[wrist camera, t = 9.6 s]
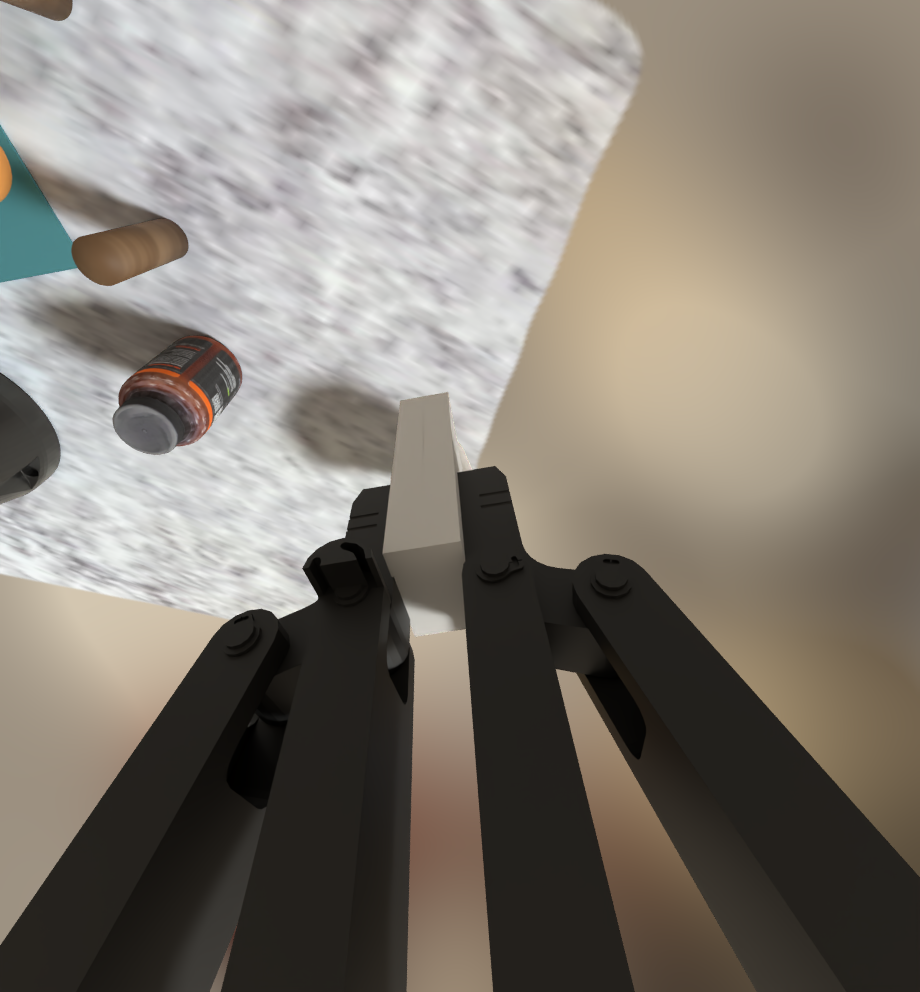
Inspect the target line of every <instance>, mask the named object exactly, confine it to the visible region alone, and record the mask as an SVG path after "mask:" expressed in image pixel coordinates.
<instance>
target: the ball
mask: <svg viewBox="0 0 920 992" xmlns="http://www.w3.org/2000/svg"><path fill="white" fill-rule="evenodd" d="M11 185H12V172H11V167H10V164H9V161H8V159H7V156H6V154H5V152H4V151H3V149H2V147H1V146H0V202H1V201H2V200H3V199H4V198H6V196H7V195H8V193H9V191H10V189H11Z"/></svg>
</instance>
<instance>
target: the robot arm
mask: <svg viewBox="0 0 920 992" xmlns="http://www.w3.org/2000/svg"><path fill="white" fill-rule="evenodd" d="M59 461H60V444H59V440H58V437H57V435H56V432H55V430H54V428H53V426H52V424H51V423H50V421H49V419H48V418H47V417H46V415H45V414H44V412H43V411H42V410H41V409H40V407H39V406H38V405H37V404H36V403H35V402H34V401H33V400H32V399H31V398H30V397H29V396H28V395H27V394H26V393H25V392H24V391H23V390H21V389H20V388H19V387H18V386H17V385H15V384H14V383H13V382H12V381H10V380H9V379H7V378H6V377H5V376H3V375H2V374H0V504H2V503H5V502H8V501H10V500H13V499H16V498H18V497H21V496H24V495H26V494H28V493H29V492H31V491H33V490H34V489H36V488H37V487H38V486H39V485H41V484H42V483H43V482H44V481H45V480H47V479H48V478H49V477H50V476H51V475H52V474H53V473H54V472H55V470H56V469H57V467H58V464H59ZM347 530H348V532H346V536H345V538H342V539H338V540H335V541H331V542H329V543H327V544H325V545H324V546H322V547H320V548H318V549H317V550H316V551H315V552H314V553H313V554H312V555H311V556H310V557H309V558H308V559H307V561H306V563H305V565H304V566H303V568H302V569H303V570H304V572H305V574H306V576H307V577H308V579H309V581H310V583H311V584H312V586H313V588H314V590H315V591H316V593H317V595H318V600H317V601H316V602H315V603H313V604H311V605H309V606H307V607H305V608H303V609H301V610H299V611H296V612H294V613H292V614H289V615H287V616H285V617H282V618H280V619H277V618H276V617H275V615H274V614H273V613H272V612H270V611H267V610H263V609H257V610H249V611H246V612H244V613H242V614H239V615H237V616H235V617H234V618H232V619H231V620H229V621H228V622H227V623H225V624H224V625H223V626H222V627H221V628H220V629H219V630H218V631H217V632H216V633H215V635H214V636H213V637H212V638H211V640H210V641H209V643H208V644H207V646H206V647H205V649H204V650H203V652H202V653H201V654H200V656H199V658H198V659H197V660H196V662H195V663H194V665H193V666H192V668H191V669H190V670H189V672H188V673H187V675H186V676H185V678H184V679H183V681H182V682H181V684H180V685H179V686H178V688H177V689H176V691H175V692H174V694H173V695H172V697H171V698H170V700H169V701H168V702H167V704H166V705H165V707H164V708H163V710H162V711H161V713H160V714H159V716H158V717H157V719H156V720H155V721H154V723H153V724H152V726H151V727H150V729H149V730H148V732H147V733H146V734H145V736H144V737H143V739H142V740H141V742H140V743H139V745H138V746H137V747H136V749H135V750H134V752H133V753H132V755H131V756H130V758H129V759H128V761H127V762H126V763H125V765H124V766H123V768H122V769H121V771H120V772H119V774H118V775H117V777H116V778H115V779H114V781H113V782H112V784H111V785H110V787H109V788H108V790H107V791H106V793H105V794H104V795H103V797H102V798H101V800H100V801H99V803H98V805H97V806H96V807H95V808H94V810H93V811H92V813H91V814H90V816H89V817H88V819H87V820H86V822H85V823H84V824H83V826H82V828H81V829H80V830H79V832H78V833H77V835H76V836H75V838H74V839H73V840H72V842H71V843H70V845H69V846H68V848H67V849H66V851H65V852H64V854H63V855H62V856H61V858H60V859H59V861H58V862H57V864H56V865H55V867H54V868H53V870H52V871H51V873H50V874H49V876H48V877H47V878H46V880H45V881H44V883H43V884H42V886H41V887H40V888H39V890H38V891H37V893H36V894H35V896H34V897H33V899H32V900H31V902H30V903H29V905H28V906H27V907H26V909H25V910H24V912H23V913H22V915H21V916H20V917H19V919H18V920H17V922H16V923H15V925H14V926H13V928H12V929H11V931H10V932H9V934H8V935H7V936H6V938H5V940H4V941H3V942H2V944H1V945H0V992H210V989H211V987H212V984H213V982H214V979H215V977H216V974H217V972H218V969H219V967H220V965H221V962H222V960H223V957H224V955H225V952H226V950H227V948H228V945H229V943H230V940H231V938H232V935H233V933H234V930H235V928H236V926H237V929H236V933H235V937H234V941H233V945H232V949H231V953H230V957H229V961H228V965H227V969H226V973H225V977H224V982H223V986H222V989H221V992H406V986H407V945H408V905H409V864H410V861H409V860H410V823H411V820H410V819H411V782H412V742H413V741H412V740H413V702H414V661H415V660H414V655H413V650H412V648H411V645H410V643H409V638H410V625H411V628H412V631H413V633H414V635H415V636H422V635H429V634H435V633H442V632H449V631H455V630H462V629H466V638H467V652H468V665H469V677H470V691H471V704H472V718H473V729H474V744H475V757H476V770H477V783H478V797H479V810H480V822H481V836H482V849H483V861H484V876H485V888H486V902H487V915H488V928H489V941H490V955H491V968H492V981H493V992H635V991H634V987H633V983H632V979H631V975H630V971H629V967H628V963H627V959H626V954H625V951H624V946H623V942H622V938H621V934H620V930H619V926H618V922H617V918H616V914H615V910H614V905H613V901H612V897H611V893H610V889H609V885H608V881H607V877H606V873H605V869H604V865H603V861H602V857H601V853H600V849H599V844H598V840H597V836H596V832H595V828H594V824H593V820H592V816H591V812H590V808H589V804H588V799H587V796H586V791H585V787H584V783H583V779H582V775H581V771H580V767H579V763H578V759H577V755H576V751H575V746H574V743H573V739H572V734H571V730H570V726H569V722H568V718H567V714H566V710H565V706H564V702H563V698H562V694H561V689H560V686H559V681H558V677H557V673H556V669H560V670H565V671H570V672H576V673H577V675H578V677H579V678H580V680H581V682H582V684H583V686H584V687H585V689H586V691H587V693H588V694H589V696H590V698H591V700H592V701H593V703H594V705H595V707H596V709H597V710H598V712H599V714H600V715H601V717H602V719H603V721H604V723H605V724H606V726H607V728H608V730H609V732H610V733H611V735H612V737H613V738H614V740H615V742H616V744H617V746H618V747H619V749H620V751H621V753H622V754H623V756H624V758H625V760H626V761H627V763H628V765H629V767H630V769H631V770H632V772H633V774H634V776H635V777H636V779H637V781H638V783H639V784H640V786H641V788H642V790H643V792H644V793H645V795H646V797H647V799H648V800H649V802H650V804H651V806H652V807H653V809H654V811H655V812H656V814H657V816H658V818H659V820H660V822H661V823H662V825H663V827H664V829H665V830H666V832H667V834H668V836H669V837H670V839H671V841H672V843H673V844H674V846H675V848H676V850H677V852H678V853H679V855H680V857H681V859H682V860H683V862H684V864H685V866H686V867H687V869H688V871H689V873H690V874H691V876H692V878H693V880H694V882H695V883H696V885H697V887H698V889H699V890H700V892H701V894H702V896H703V898H704V899H705V901H706V903H707V904H708V906H709V908H710V910H711V912H712V913H713V915H714V917H715V919H716V920H717V922H718V924H719V926H720V928H721V929H722V931H723V933H724V935H725V936H726V938H727V940H728V942H729V943H730V945H731V947H732V949H733V950H734V952H735V954H736V956H737V958H738V959H739V961H740V963H741V965H742V966H743V968H744V970H745V972H746V973H747V975H748V977H749V979H750V980H751V982H752V984H753V986H754V988H755V989H756V991H757V992H920V877H919V876H918V875H917V874H916V873H915V872H914V870H913V869H912V868H911V867H910V866H909V865H908V864H907V862H906V861H905V860H904V859H903V858H902V857H901V856H900V855H899V854H898V852H897V851H896V850H895V849H894V848H893V847H892V846H891V845H890V843H889V842H888V841H887V840H886V839H885V838H884V837H883V836H882V835H881V833H880V832H879V831H878V830H877V829H876V828H875V827H874V826H873V825H872V823H871V822H870V821H869V820H868V819H867V818H866V817H865V816H864V814H863V813H862V812H861V811H860V810H859V809H858V808H857V807H856V806H855V804H854V803H853V802H852V801H851V800H850V799H849V798H848V797H847V795H846V794H845V793H844V792H843V791H842V790H841V789H840V788H839V787H838V785H837V784H836V783H835V782H834V781H833V780H832V779H831V778H830V776H829V775H828V774H827V773H826V772H825V771H824V770H823V769H822V768H821V766H820V765H819V764H818V763H817V762H816V761H815V760H814V759H813V757H812V756H811V755H810V754H809V753H808V752H807V751H806V750H805V748H804V747H803V746H802V745H801V744H800V743H799V742H798V741H797V740H796V738H795V737H794V736H793V735H792V734H791V733H790V732H789V731H788V730H787V728H786V727H785V726H784V725H783V724H782V723H781V722H780V721H779V720H778V718H777V717H776V716H775V715H774V714H773V713H772V712H771V711H770V710H769V708H768V707H767V706H766V705H765V704H764V703H763V702H762V700H761V699H760V698H759V697H758V696H757V695H756V694H755V693H754V692H753V691H752V689H751V688H750V687H749V686H748V685H747V684H746V683H745V682H744V680H743V679H742V678H741V677H740V676H739V675H738V674H737V673H736V671H735V670H734V669H733V668H732V667H731V666H730V665H729V664H728V663H727V661H726V660H725V659H724V658H723V657H722V656H721V655H720V654H719V652H718V651H717V650H716V649H715V648H714V647H713V646H712V645H711V643H710V642H709V641H708V640H707V639H706V638H705V637H704V636H703V635H702V634H701V632H700V631H699V630H698V629H697V628H696V627H695V626H694V624H693V623H692V622H691V621H690V620H689V619H688V618H687V617H686V616H685V614H684V613H683V612H682V611H681V610H680V609H679V608H678V607H677V606H676V604H675V603H674V602H673V601H672V600H671V599H670V598H669V597H668V595H667V594H666V593H665V592H664V591H663V590H662V589H661V588H660V586H659V585H658V584H657V583H656V582H655V581H654V580H653V579H652V578H651V576H650V575H649V574H648V573H647V572H646V571H645V570H644V569H643V568H642V567H641V566H639V565H638V564H637V563H635V562H634V561H633V560H630V559H627V558H625V557H622V556H619V555H610V554H603V555H597V556H591V557H590V558H588V559H586V560H584V561H582V562H581V563H580V564H579V565H578V567H577V568H576V569H575V570H572V569H563V568H555V567H550V566H546V565H544V564H541V563H539V562H537V561H536V560H534V559H533V558H531V557H530V556H529V555H528V553H526V551H525V549H524V547H523V545H522V541H521V537H520V533H519V529H518V525H517V521H516V516H515V512H514V508H513V504H512V500H511V496H510V492H509V487H508V483H507V479H506V476H505V475H504V474H503V473H502V472H501V471H499V469H498V468H497V467H495V466H493V467H487V468H481V469H475V470H469V471H463V468H462V462H461V456H460V451H459V446H458V441H457V436H456V431H455V426H454V420H453V415H452V410H451V405H450V400H449V395H448V392H446V393H441V394H435V395H429V396H424V397H418V398H413V399H407V400H401V401H400V407H399V415H398V424H397V432H396V441H395V450H394V458H393V467H392V476H391V484H390V485H387V486H381V487H375V488H369V489H363V490H362V492H361V493H360V494H359V496H358V497H357V498H356V500H355V501H354V502H353V504H352V509H351V513H350V520H349V523H348V527H347ZM237 923H238V925H237Z"/></svg>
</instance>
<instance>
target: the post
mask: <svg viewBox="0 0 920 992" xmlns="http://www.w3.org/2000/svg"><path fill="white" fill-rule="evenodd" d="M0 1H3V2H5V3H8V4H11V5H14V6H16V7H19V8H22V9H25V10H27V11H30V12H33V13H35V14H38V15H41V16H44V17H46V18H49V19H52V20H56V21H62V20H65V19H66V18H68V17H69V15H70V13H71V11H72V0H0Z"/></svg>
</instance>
